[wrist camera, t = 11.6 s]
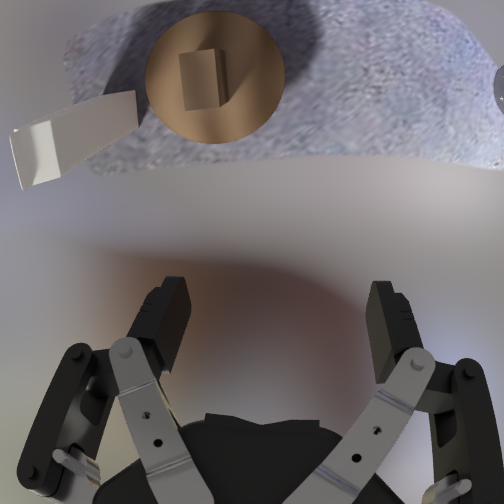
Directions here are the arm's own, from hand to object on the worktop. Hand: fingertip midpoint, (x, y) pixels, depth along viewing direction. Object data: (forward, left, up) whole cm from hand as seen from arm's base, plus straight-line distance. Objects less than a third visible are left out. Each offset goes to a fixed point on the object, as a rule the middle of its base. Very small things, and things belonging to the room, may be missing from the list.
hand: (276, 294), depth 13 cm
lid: (+8, -8, -26) cm, 28 cm away
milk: (+24, -5, -32) cm, 40 cm away
